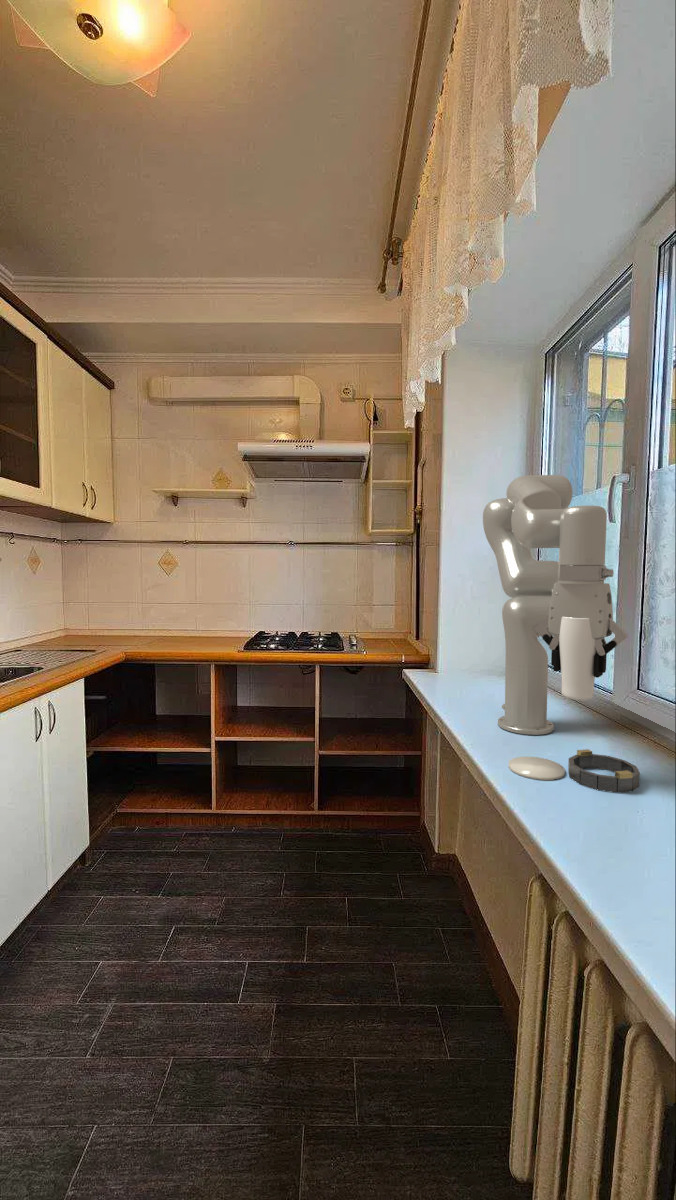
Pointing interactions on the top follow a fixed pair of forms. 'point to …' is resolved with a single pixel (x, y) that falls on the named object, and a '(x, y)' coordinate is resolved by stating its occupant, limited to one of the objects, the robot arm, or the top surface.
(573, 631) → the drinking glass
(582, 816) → the top surface
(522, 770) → the disc
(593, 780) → the collar
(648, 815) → the top surface
